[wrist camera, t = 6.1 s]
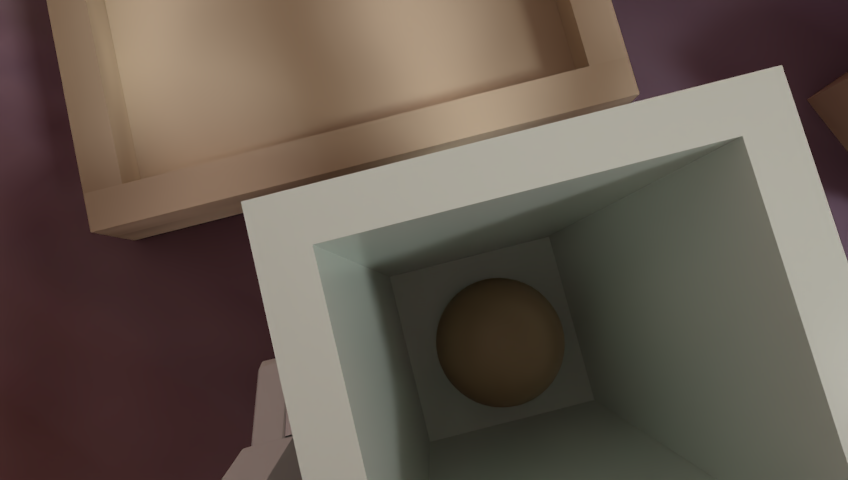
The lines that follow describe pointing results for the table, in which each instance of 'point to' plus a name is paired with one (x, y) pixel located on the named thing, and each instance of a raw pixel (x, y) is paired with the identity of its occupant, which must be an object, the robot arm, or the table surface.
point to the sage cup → (574, 299)
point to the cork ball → (500, 342)
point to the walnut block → (834, 107)
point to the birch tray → (308, 91)
